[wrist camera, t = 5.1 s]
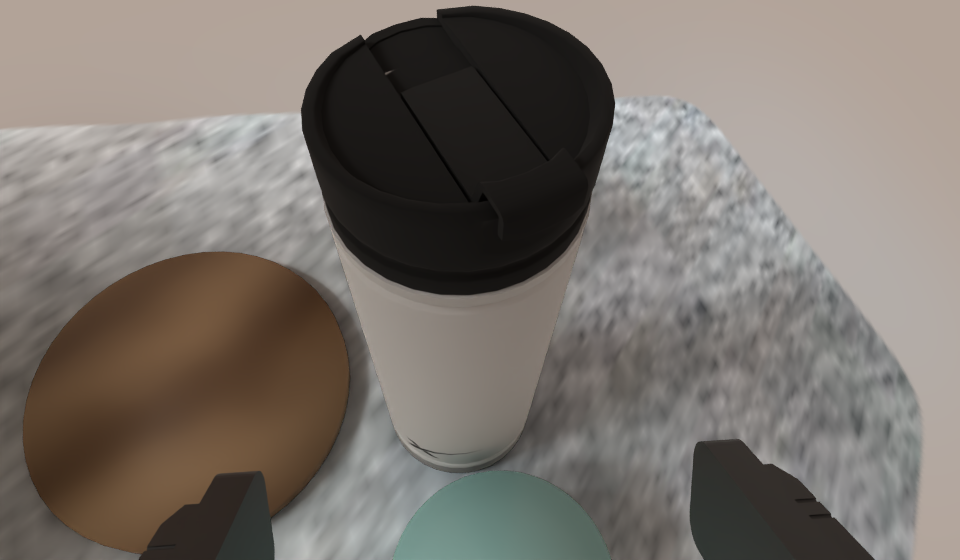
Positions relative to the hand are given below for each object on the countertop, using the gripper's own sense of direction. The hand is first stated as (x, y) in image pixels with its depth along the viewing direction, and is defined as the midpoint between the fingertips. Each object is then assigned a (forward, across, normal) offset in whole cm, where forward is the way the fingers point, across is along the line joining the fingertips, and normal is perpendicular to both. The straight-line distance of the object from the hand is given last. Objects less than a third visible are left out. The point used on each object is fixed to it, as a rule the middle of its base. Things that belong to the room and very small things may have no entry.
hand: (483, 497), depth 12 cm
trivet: (+18, +12, +6) cm, 22 cm away
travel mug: (+17, 0, +7) cm, 18 cm away
